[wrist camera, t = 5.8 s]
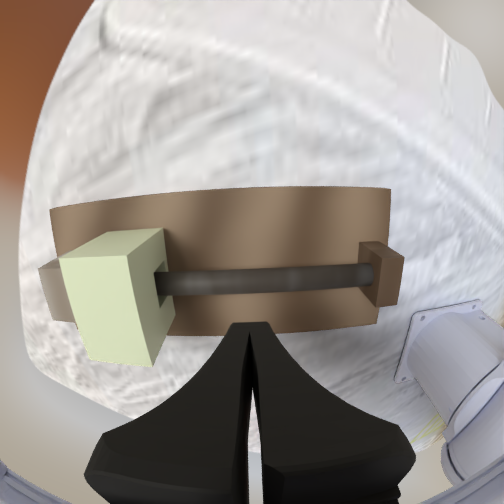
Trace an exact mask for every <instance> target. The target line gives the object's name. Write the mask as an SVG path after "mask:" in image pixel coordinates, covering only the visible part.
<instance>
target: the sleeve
mask: <svg viewBox="0 0 504 504" xmlns="http://www.w3.org/2000/svg"><path fill="white" fill-rule="evenodd" d="M59 262H60V267H61V271H62V275H63V279H64V283H65V287H66V291H67V294H68V298H69V301H70V305H71V308H72V311H73V315H74V318H75V321H76V324H77V327H78V330H79V332H80V335H81V338H82V341H83V343H84V346H85V349H86V351H87V354H88V356H89V359H90V360H94V361H101V362H109V363H117V364H126V365H136V366H147V367H153V365H154V363H155V360H156V358H157V356H158V353H159V351H160V349H161V346H162V344H163V342H164V339H165V337H166V335H167V333H168V330H169V328H170V326H171V324H172V322H173V319H174V317H175V309H174V303H173V297H172V296H157V291H156V285H155V280H154V274H153V273H154V272H169V271H168V264H167V257H166V249H165V241H164V232H163V228H151V229H137V230H124V231H111V232H106V233H104V234H102V235H100V236H98V237H97V238H95V239H93V240H91V241H89V242H87V243H85V244H84V245H82V246H80V247H78V248H76V249H74V250H73V251H71V252H69V253H67V254H66V255H64V256H62V257H60V258H59Z"/></svg>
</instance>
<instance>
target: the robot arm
mask: <svg viewBox="0 0 504 504" xmlns="http://www.w3.org/2000/svg"><path fill="white" fill-rule="evenodd" d="M481 307H482V301H481V300H475V301H471V302H466V303H462V304H457V305H452V306H448V307H442V308H437V309H432V310H427V311H421V312H417V313H415V314H414V315H413V317H412V320H411V324H410V328H409V332H408V336H407V339H406V343H405V346H404V350H403V353H402V356H401V360H400V363H399V366H398V369H397V372H396V375H395V378H394V381H395V383H401V382H405V381H409V380H412V379H416V380H417V381H418V383H419V384H420V386H421V387H422V389H423V390H424V392H425V393H426V395H427V396H428V398H429V399H430V401H431V402H432V404H433V405H434V407H435V408H436V410H437V411H438V413H439V414H440V416H441V417H442V419H443V421H444V422H445V424H446V425H447V428H446V429H445V430H444V431H443V432H442V434H443V436H444V438H445V439H446V442H445V443H444V444H443V446H442V450H441V464H442V468H443V471H444V473H445V475H446V477H447V479H448V480H449V481H450V482H451V484H452V485H453V487H451V488H450V489H448V490H446V491H444V492H442V493H440V494H438V495H436V496H434V497H432V498H430V499H428V500H425V501H423V502H421V503H419V504H504V328H503V327H502V326H500V325H499V324H498V323H497V322H495V321H494V320H493V319H492V318H490V317H489V316H488V315H486V314H485V313H484V312H483V311H481ZM422 316H423V317H422ZM421 317H422V318H421ZM252 388H253V393H254V400H255V407H256V414H257V420H258V427H259V433H260V442H261V460H262V485H263V504H399V502H398V498H399V497H400V496H401V493H400V490H399V488H398V484H399V483H400V481H401V480H402V479H403V478H404V477H405V476H406V474H407V473H408V472H409V471H410V470H411V468H412V466H413V465H414V463H415V461H416V455H415V453H414V450H413V448H412V446H411V444H410V442H409V441H408V439H407V437H406V436H405V434H404V433H403V432H402V430H401V429H400V427H399V425H396V424H394V423H391V422H388V421H386V420H383V419H380V418H378V417H375V416H373V415H370V414H368V413H366V412H364V411H362V410H360V409H358V408H356V407H354V406H352V405H350V404H348V403H346V402H345V401H343V400H342V399H340V398H339V397H337V396H336V395H334V394H332V393H331V392H329V391H328V390H327V389H325V388H324V387H323V386H321V385H320V384H319V383H318V382H317V381H315V380H314V379H313V378H312V377H311V376H310V375H309V374H308V373H306V372H305V371H304V370H303V369H302V368H301V367H300V365H299V364H298V363H297V362H296V361H295V360H294V359H293V358H292V357H291V355H290V354H289V353H288V352H287V350H286V349H285V348H284V347H283V345H282V344H281V342H280V341H279V340H278V338H277V337H276V335H275V333H274V332H273V330H272V328H271V326H270V324H269V323H268V322H267V321H263V322H236V323H232V324H231V325H230V327H229V329H228V331H227V333H226V334H225V336H224V338H223V339H222V341H221V343H220V344H219V345H218V347H217V348H216V350H215V351H214V353H213V354H212V355H211V357H210V358H209V359H208V360H207V362H206V363H205V364H204V365H203V366H202V368H201V369H200V370H199V371H198V372H197V373H196V374H195V375H194V376H193V377H192V378H191V379H190V380H189V381H188V382H187V383H186V384H185V385H184V386H183V387H182V388H181V389H179V390H178V391H177V392H176V393H175V394H173V395H172V396H171V397H170V398H168V399H167V400H166V401H164V402H163V403H162V404H160V405H159V406H157V407H155V408H154V409H152V410H151V411H149V412H147V413H146V414H144V415H142V416H140V417H138V418H137V419H135V420H133V421H131V422H128V423H126V424H124V425H122V426H119V427H117V428H115V429H112V430H110V431H108V432H105V433H103V434H102V436H101V438H100V439H99V441H98V443H97V445H96V447H95V449H94V451H93V453H92V456H91V458H90V461H89V463H88V466H87V468H86V470H85V473H84V477H85V479H86V481H87V483H88V484H89V485H90V486H91V487H92V488H93V489H94V490H95V491H96V492H97V493H98V494H99V495H101V496H102V497H103V498H104V499H105V500H106V501H108V502H109V503H110V504H249V479H248V432H249V421H250V411H251V400H252ZM0 504H72V503H70V502H68V501H65V500H63V499H61V498H59V497H57V496H55V495H53V494H51V493H49V492H47V491H45V490H43V489H41V488H40V487H38V486H36V485H34V484H33V483H31V482H29V481H27V480H26V479H24V478H22V477H21V476H19V475H17V474H16V473H14V472H13V471H11V470H10V469H8V468H7V466H6V465H5V464H4V463H3V462H2V461H1V460H0Z"/></svg>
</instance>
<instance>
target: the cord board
mask: <svg viewBox="0 0 504 504" xmlns="http://www.w3.org/2000/svg"><path fill="white" fill-rule="evenodd" d="M390 203H391V189H387V188H374V187H338V186H288V187H251V188H229V189H212V190H197V191H184V192H172V193H161V194H151V195H142V196H133V197H124V198H116V199H108V200H101V201H94V202H87V203H80V204H74V205H68V206H62V207H56V208H53V209H50V218H51V225H52V231H53V237H54V242H55V248H56V253H57V258H55V259H54V260H52V261H50V262H49V263H47V264H45V265H43V266H42V267H40V268H38V271H39V275H40V279H41V283H42V286H43V290H44V293H45V297H46V300H47V303H48V307H49V310H50V313H51V316H52V319H53V320H56V321H65V322H74V323H76V321H75V318H74V315H73V311H72V308H71V305H70V301H69V298H68V294H67V291H66V287H65V283H64V279H63V275H62V271H61V267H60V262H59V258H60V257H62V256H64V255H66V254H67V253H69V252H71V251H73V250H74V249H76V248H78V247H80V246H82V245H84V244H85V243H87V242H89V241H91V240H93V239H95V238H97V237H98V236H100V235H102V234H104V233H106V232H111V231H124V230H137V229H151V228H163V232H164V241H165V249H166V257H167V264H168V271H169V272H154V273H153V274H154V280H155V285H156V291H157V296H172V297H173V303H174V309H175V317H174V319H173V322H172V324H171V326H170V328H169V330H168V333H167V335H169V336H225V334H226V333H227V331H228V329H229V327H230V325H231V324H232V323H236V322H263V321H267V322H268V323H269V324H270V326H271V328H272V330H273V332H274V333H275V334H280V333H295V332H307V331H319V330H329V329H338V328H347V327H356V326H363V325H371V324H376V323H377V318H378V313H379V307H385V306H392V305H397V301H398V296H399V290H400V284H401V278H402V271H403V264H404V257H403V256H402V255H400V254H399V253H397V252H396V251H394V250H392V249H391V248H389V247H388V236H389V222H390ZM76 326H77V324H76ZM77 329H78V327H77Z"/></svg>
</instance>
